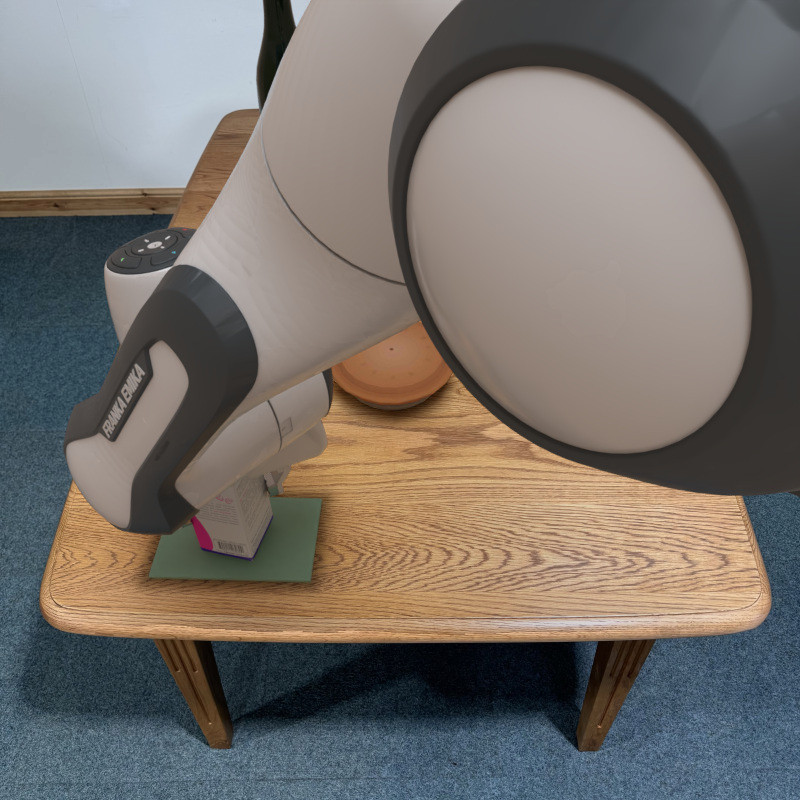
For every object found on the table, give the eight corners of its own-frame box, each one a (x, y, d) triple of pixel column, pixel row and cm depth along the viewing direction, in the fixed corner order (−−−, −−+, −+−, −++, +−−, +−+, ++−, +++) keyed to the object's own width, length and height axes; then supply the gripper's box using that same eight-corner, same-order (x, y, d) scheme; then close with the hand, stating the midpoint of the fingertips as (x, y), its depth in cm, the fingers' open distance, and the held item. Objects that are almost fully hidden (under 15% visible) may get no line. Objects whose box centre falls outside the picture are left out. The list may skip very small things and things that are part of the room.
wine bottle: (267, 155, 134) (238, -50, 110) (324, 152, 134) (307, -52, 111) (266, 183, 126) (233, -30, 103) (326, 179, 127) (307, -33, 104)
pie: (472, 359, 93) (475, 329, 90) (421, 440, 84) (422, 410, 80) (367, 326, 98) (365, 297, 95) (307, 399, 89) (303, 369, 85)
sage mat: (322, 500, 78) (321, 498, 77) (310, 582, 71) (310, 580, 70) (175, 497, 78) (174, 494, 78) (149, 578, 71) (148, 576, 71)
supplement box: (275, 515, 75) (258, 441, 67) (253, 562, 71) (232, 490, 63) (223, 504, 76) (201, 430, 68) (199, 551, 72) (172, 478, 64)
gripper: (78, 473, 56) (127, 570, 65) (327, 394, 62) (338, 494, 71) (68, 419, 60) (116, 518, 70) (302, 350, 66) (316, 450, 75)
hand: (230, 505), depth 70 cm, fingers closed on supplement box, 8 cm apart
